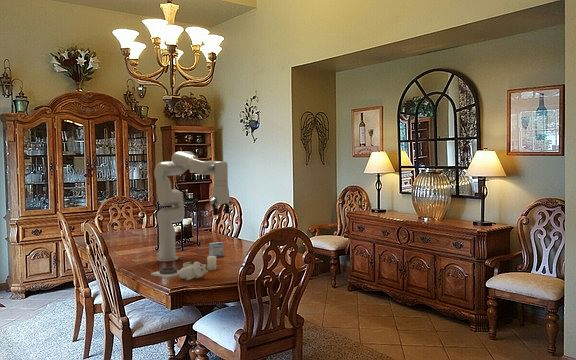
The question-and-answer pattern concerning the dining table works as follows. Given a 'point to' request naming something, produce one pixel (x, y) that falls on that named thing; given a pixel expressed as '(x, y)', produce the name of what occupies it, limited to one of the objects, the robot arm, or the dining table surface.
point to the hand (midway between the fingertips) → (221, 214)
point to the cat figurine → (192, 270)
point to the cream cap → (211, 263)
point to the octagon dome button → (166, 272)
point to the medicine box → (216, 249)
